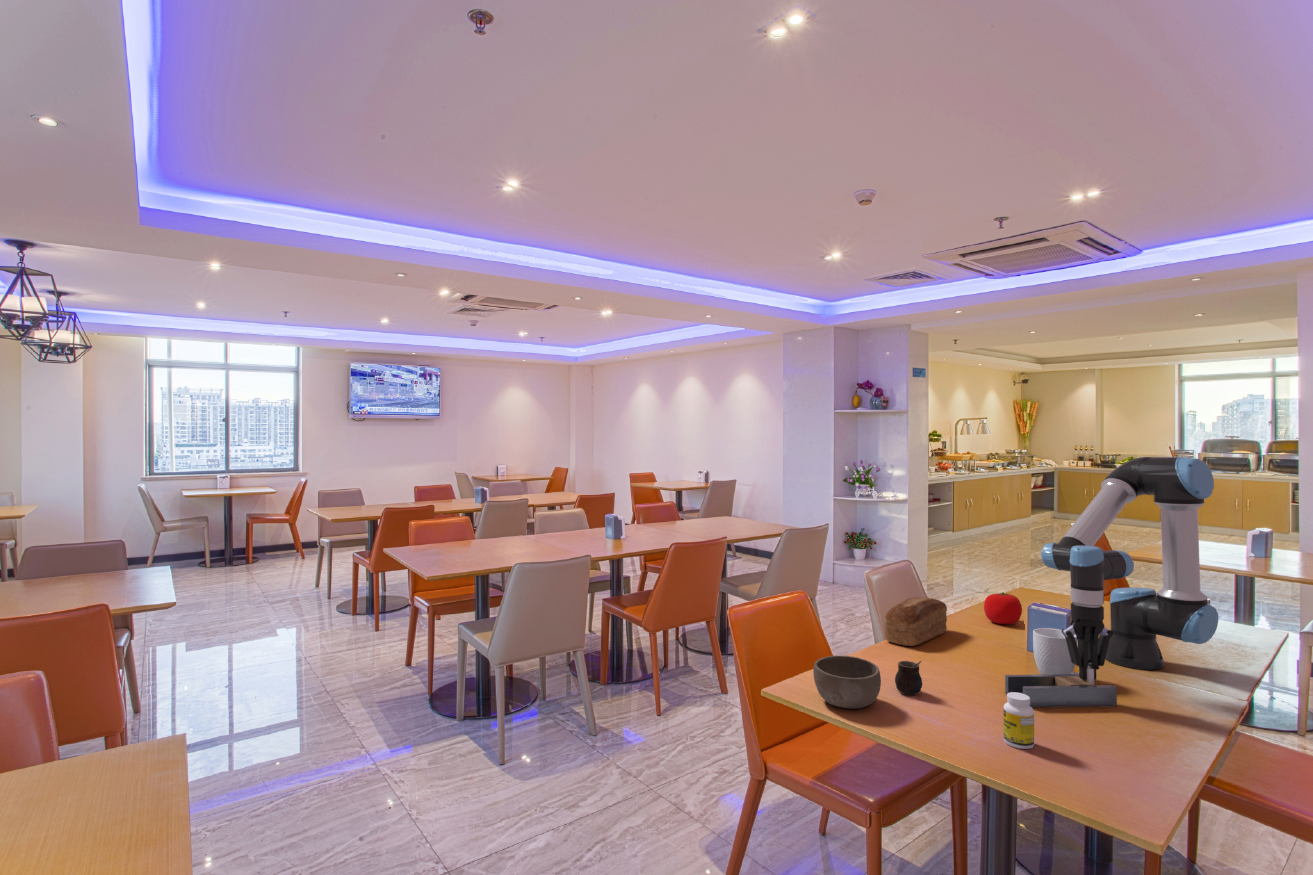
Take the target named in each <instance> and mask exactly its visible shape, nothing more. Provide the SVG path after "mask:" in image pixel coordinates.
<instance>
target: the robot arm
mask: <svg viewBox="0 0 1313 875" xmlns="http://www.w3.org/2000/svg"><path fill="white" fill-rule="evenodd" d="M1211 470H1212V469H1210V467H1209V466H1208V465H1207V463H1206V462H1205V461H1203V460H1201V459H1199V458H1195V457H1186V456H1184V457H1183V456H1180V457H1179V456H1178V457H1176V456H1175V457H1174V456H1173V457H1172V456H1169V457H1168V456H1165V457H1163V456H1162V457H1161V456H1160V457H1159V456H1158V457H1157V456H1156V457H1155V456H1140V457H1135V458H1134V459H1133V458H1132V459H1131V460H1128V461H1126V462H1124V463H1122V464H1121V465H1119V466H1118V467H1116V468H1114V469H1113V470H1112V471H1111V472H1110V473H1109V474H1107V476H1106V477H1105V478H1104V480H1102V482H1101V484H1100V490H1099V492H1098V493H1097V494H1096V495H1095V497H1094V498H1093V499H1092V500H1091V502H1090V503H1089V504H1088V505H1087V506H1086V508H1085V509H1084V510H1083V511H1082V513H1081V514H1080V515H1079V517H1078V518H1077V519H1076V521H1074V523H1073V524H1072V525H1071V527H1070V528H1069V529H1068V530H1067V532H1066V533H1065V534H1064V535H1063V537H1062V538H1061V539H1060V540H1059V541H1058V542H1057V543H1056V542H1049V543H1046V544H1044V546H1043V547H1042V549H1041V551H1040V552H1041V553H1040V557H1041V561H1042V562H1043V564H1044V565H1045V566H1046V567H1048V568H1050V569H1053V570H1057V571H1062V572H1063V571H1065V572H1069V573H1070V602H1071V603H1070V617H1071V621H1070V623H1069V627H1067V628H1066V629H1065V628H1062V629H1061V630H1062V633H1063V635H1064V636H1065V638H1066V642H1067V646H1068V650H1069V654H1070V658H1071V662H1072V663H1073V664H1075V666H1077V667H1078V673H1079V677H1080V679H1082V680H1085V681H1087V682H1089V683H1091V684H1093V686H1094V680H1095V681H1096V680H1097V671H1098V670H1100V667H1103V666H1104V665H1105V662H1106V661H1108V662H1110V663H1112V664H1115V665H1118V666H1122V667H1126V668H1130V669H1131V668H1132V669H1136V670H1137V669H1138V670H1147V671H1148V670H1149V671H1150V670H1152V671H1153V670H1161V669H1163V668H1164V667H1165V662H1164V657H1163V654H1162V652H1161V649H1160V647H1159V644H1158V640H1157V635H1158V636H1161V637H1165V638H1170V639H1174V640H1178V641H1182V642H1184V643H1191V644H1196V645H1202V644H1206V643H1207V642H1209V641H1210V640H1212V638H1213V637H1214V635H1215V633H1216V631H1217V629H1218V625H1219V613H1218V611H1217V608H1215V607H1214V606H1212V605H1210V604H1208V596H1207V595H1206V594H1204V593H1203V592H1202V590H1201V574H1200V573H1201V572H1200V570H1201V569H1200V564H1201V563H1200V542H1199V540H1200V538H1199V536H1200V535H1199V512H1198V511H1199V509H1200V508H1202V506H1204V504H1205V499H1209V498H1210V497H1211V496H1212V495H1213V490H1214V488H1215V480H1214V476H1213V473H1212V471H1211ZM1145 495H1148V496H1153V502H1154V504H1155V505H1157V506H1158V507H1159V509H1160V523H1161V524H1160V528H1161V529H1160V530H1161V532H1160V534H1161V553H1162V554H1161V557H1162V558H1161V559H1162V582H1163V583H1162V586H1163V587H1162V588H1161V589H1159V590H1158V591H1156V590H1155V589H1153V588H1148V587H1119V588H1118V587H1117V588H1115V589H1112V590H1111V592H1110V596H1109V597H1110V598H1109V599H1110V600H1109V606H1110V607H1109V610H1110V612H1109V614H1110V629H1109V628H1107V627H1105V623H1104V618H1105V608H1104V606H1103V605H1104V604H1105V595H1104V592H1105V591H1104V581H1106V580H1107V581H1108V580H1120V579H1122V578H1127V577H1129V576H1130V575H1131V574H1132V573H1133V571H1134V570H1135V563H1134V560H1133V558H1132V557H1131V555H1129V553H1127V552H1126V551H1123V550H1115V549H1112V550H1104V549H1102V548H1101V547H1100V546H1099V547H1098V546H1095V544H1096V543H1097V542H1098V540H1099V539H1100V538H1101V537H1102V536H1103V534H1104V533H1105V532H1106V530H1107V529H1108V528H1109V526H1110V525H1111V524H1112V523H1113V521H1114V520H1116V518H1117V516H1118V515H1119V514H1120V512H1121V511H1123V508H1124V507H1125V506H1126V505H1127V504H1129V503H1132V502H1133V501H1135V499H1136V498H1137V497H1139V496H1145ZM1075 635H1076V640H1077V644H1076V640H1075V637H1074V636H1075ZM1077 647H1078V648H1077Z"/></svg>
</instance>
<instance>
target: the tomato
mask: <svg viewBox="0 0 1313 875" xmlns="http://www.w3.org/2000/svg"><path fill="white" fill-rule="evenodd" d="M983 611H984V613H985V617H986V618H987V619H988V620H989V621H991V622H993V623H994V624H999V625H1009V626H1010V625H1015V624H1017V623H1018V622H1019V621H1020V619H1021V616H1022V614H1023V606H1022V603H1021V601H1020V599H1019V598H1018V597H1016V595H1013V594H1011V593H1005V592H997V593H991V594H988V595H987V596H986V597H985V600H984V604H983Z"/></svg>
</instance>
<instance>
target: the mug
mask: <svg viewBox="0 0 1313 875" xmlns="http://www.w3.org/2000/svg"><path fill="white" fill-rule="evenodd" d="M1032 635H1033V637H1032V648H1033V657H1034V660H1035V664H1036V667H1037V670H1038V672H1039V673H1040V675H1047V674H1079V672H1076V671H1074V670H1075V669H1076V668H1075V667H1076V665H1075V664H1073V663H1072V662H1071V658H1070V654H1069V650H1068V646H1067V642H1066V638H1065V636H1064V635H1063V633H1062V629H1058V628H1052V627H1038V628H1035V629H1033V631H1032ZM1074 637H1075V640H1076V644H1077V645H1078V641H1077V639H1076V634H1075V636H1074ZM1077 648H1078V646H1077Z"/></svg>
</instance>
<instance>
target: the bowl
mask: <svg viewBox="0 0 1313 875" xmlns="http://www.w3.org/2000/svg"><path fill="white" fill-rule="evenodd" d="M813 664H814V665H813V671H812V672H813V681H814V684H815V687H816V690H817V692H818V694H819V696H820V697H821V698H822V699H823V700H824V702H826V703H828V704H829V705H831V706H833V707H836V708H837V707H838V708H841V709H848V710H850V709H851V710H853V709H854V710H858V709H863V708H865V707H867V706H870V705H872V704H873V703H874V702H875V701H876V699H877V698H878V696H879V694H880V691H881V686H882V679H881V678H882V677H881V671H880V668H879V667H878V666H877V664H875V663H873V662H871V661H870V660H867V659H864V658H862V657H861V658H860V657H856V656H851V655H829V656H824V657H820V658H819V659H817V660H816V661H815V662H814V663H813Z"/></svg>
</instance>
